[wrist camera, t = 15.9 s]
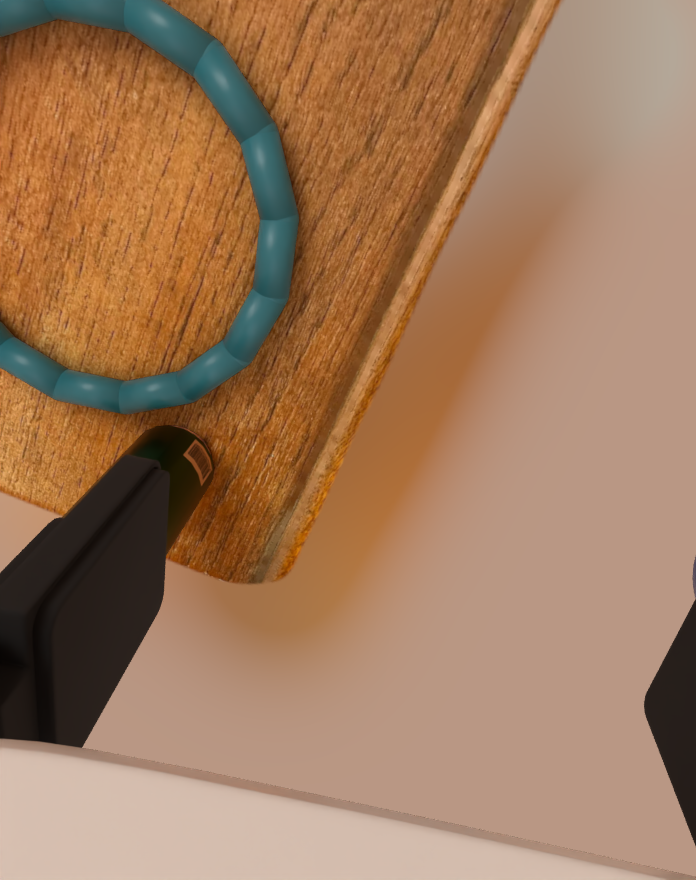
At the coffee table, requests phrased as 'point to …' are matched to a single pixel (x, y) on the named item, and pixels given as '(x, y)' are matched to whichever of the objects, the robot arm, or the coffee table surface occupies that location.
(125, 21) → the ring
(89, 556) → the robot arm
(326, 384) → the coffee table surface
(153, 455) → the beer can
